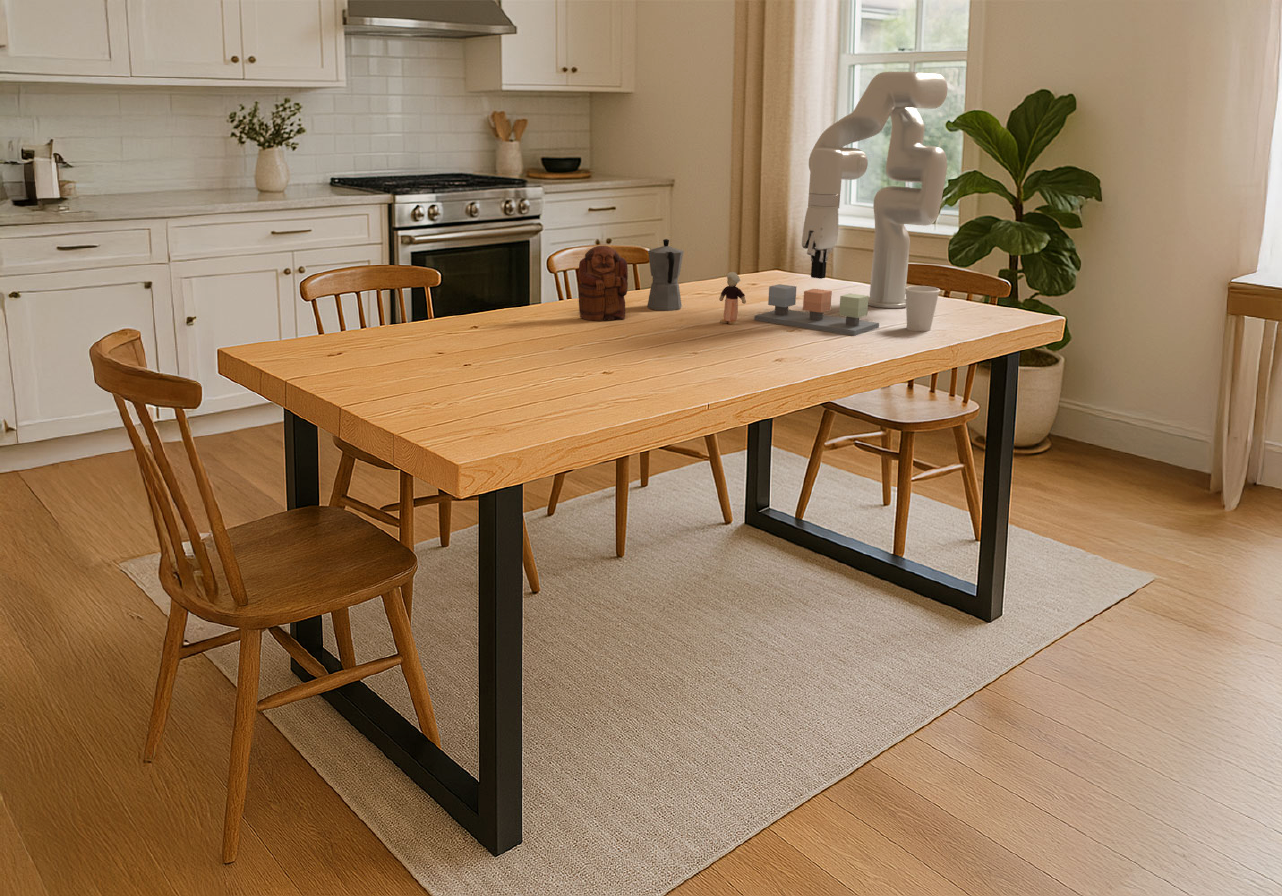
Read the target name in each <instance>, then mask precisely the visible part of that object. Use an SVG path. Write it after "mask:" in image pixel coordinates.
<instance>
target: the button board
mask: <svg viewBox="0 0 1282 896" xmlns="http://www.w3.org/2000/svg"><path fill="white" fill-rule="evenodd" d="M753 318H754V319H753V320H754V321H757V322H764V323H770V324H777V325H782V326H783V325H784V326H790V327H795V328H803V329H808V330H815V331H821V332H827V333H835V334H840V335H841V334H842V335H848V336H858V335H861V334H864V333H867V332H871V331H873V330H876V329H879V328H880V322H876V321H875V322H874V321H868V320H862V319H860V318H861V317H859V318H854V317H848V316H845V317H843V316H834V315H827V314H824V312H821V313H820V312H813V311H800V310H793V309H789V307H778V306H774V310H770V311H766V312H763V313H758V314H754V315H753Z"/></svg>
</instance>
